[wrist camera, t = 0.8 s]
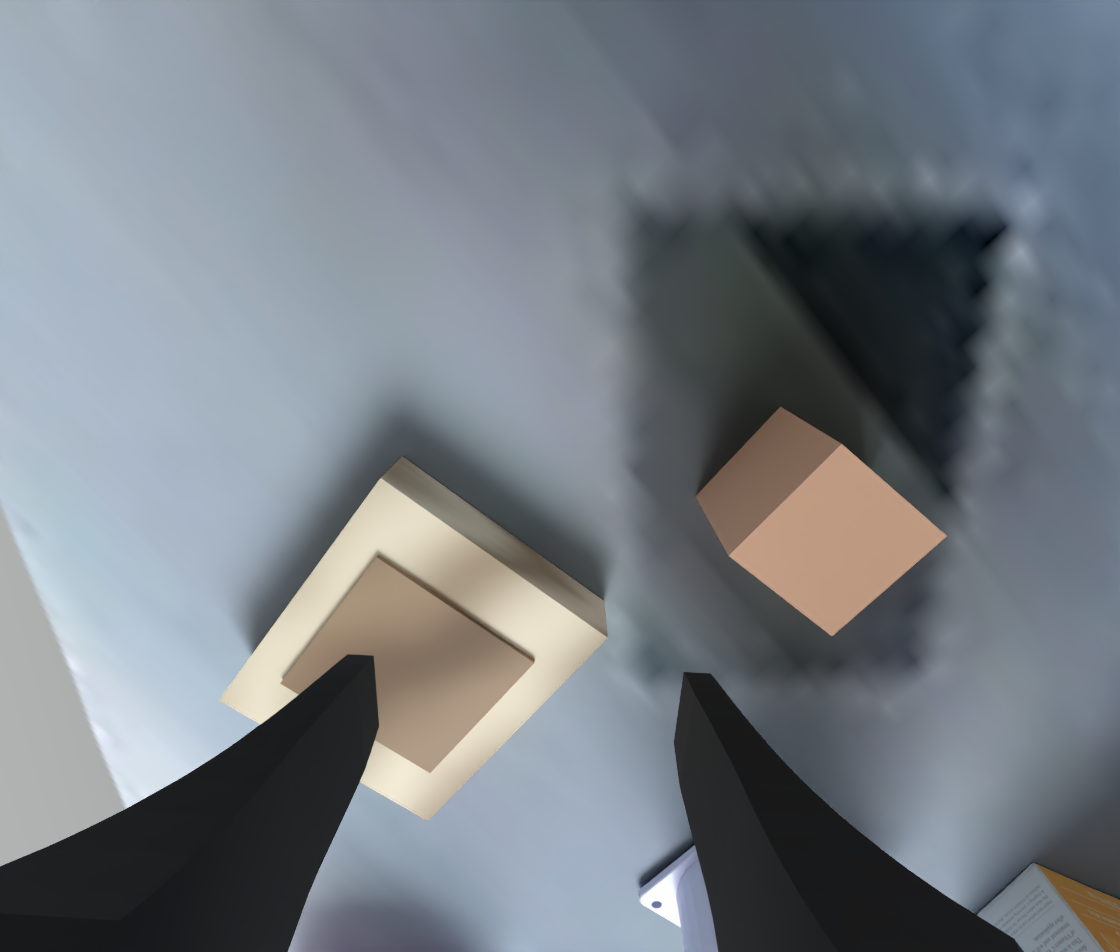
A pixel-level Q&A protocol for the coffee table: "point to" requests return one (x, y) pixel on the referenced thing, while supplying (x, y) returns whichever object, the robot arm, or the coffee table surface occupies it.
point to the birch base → (428, 635)
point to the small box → (1055, 914)
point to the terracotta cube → (814, 521)
